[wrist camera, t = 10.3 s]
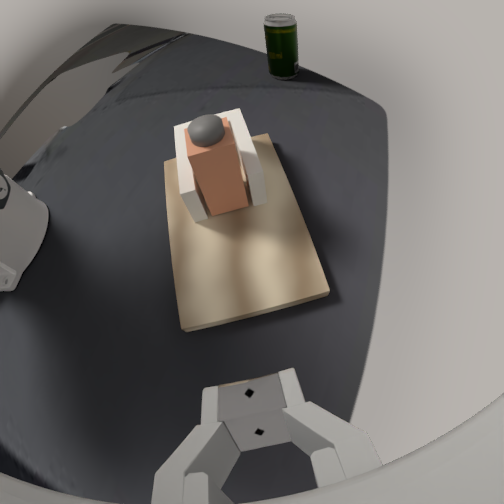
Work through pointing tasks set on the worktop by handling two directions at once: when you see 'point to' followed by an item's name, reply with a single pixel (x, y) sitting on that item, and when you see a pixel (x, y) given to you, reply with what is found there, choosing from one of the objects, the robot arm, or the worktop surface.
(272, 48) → the beer can
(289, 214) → the base board
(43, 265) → the worktop surface
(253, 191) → the socket
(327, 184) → the worktop surface
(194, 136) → the plug
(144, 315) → the worktop surface
